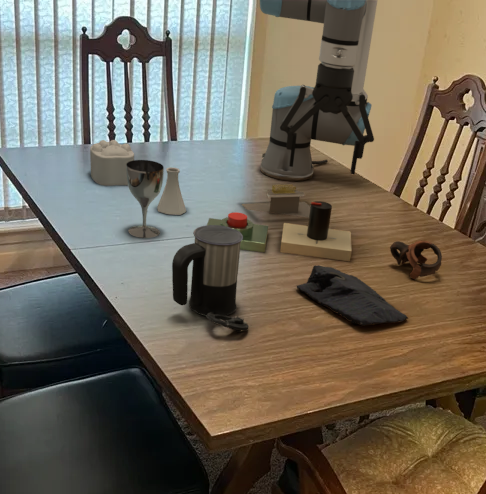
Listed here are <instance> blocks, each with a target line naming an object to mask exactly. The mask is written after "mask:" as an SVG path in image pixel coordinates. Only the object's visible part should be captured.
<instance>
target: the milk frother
mask: <svg viewBox="0 0 486 494" xmlns="http://www.w3.org/2000/svg"><path fill="white" fill-rule="evenodd" d="M192 233H193V237H194V242H193V243H189V244H186V245H183V246H181V247H180V248H179V249H178V250H177V251H176V253H175V254H174V256H173V258H172V263H171V271H172V272H171V274H172V276H171V277H172V279H171V280H172V299H173V301H174V302H175V304H177V305H179V306H185V305H187V304H188V306H189V308H190V310H192V311H193V312H195V313H197V314H200V315H202V316H206V319H207V320H209V321H210V322H212V323H214V324H216V325H220V326H222V327H225V328H228V329H230V330H232V331H234V332H237V333H241V332H242V331H243V332H246V331H248V330H249V328H250V327H249V326H250V325H249V324H248V321H246V320H244V319H243V318H242V317H239V316H236V317H233V316H229V315H232V314H234V313H235V312H236V310H237V306H238V305H237V302H236V301H237V286H238V275H239V265H240V254H241V249H240V244H241V241H242V239H243V236H242V234H241V233H240V232H239V231H237V230H235V229H232V228H229V227H226V226H219V225H207V224H206V225H201V226H198V227H196V228H195V229H194V230H193V232H192ZM191 263H192V267H191V268H192V270H191V286H190V297H189V300H188V295H189V294H188V291H189V290H188V288H189V287H188V286H189V285H188V282H189V272H188V271H189V266H190V264H191Z"/></svg>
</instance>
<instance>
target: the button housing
mask: <svg viewBox="0 0 486 494" xmlns="http://www.w3.org/2000/svg"><path fill="white" fill-rule="evenodd" d="M207 225H219V226H226V227H229V228H232V229H235V230H237V231H239V232H240V233H241V234H242V236H243V239H242V241H241V244H240V251H241V250H242V251H250V252H256V253H257V252H258V253H265V251H266V245H267V239H268V235H269V225H266V224H258V223H254V222H253V221H251V220H250V219H247V226H245V227H233V226H230V225H228V216H227V217H224V218H222V219H220V218H211V217H209V218H208V221H207V224H206V226H207Z"/></svg>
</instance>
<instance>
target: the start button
mask: <svg viewBox="0 0 486 494" xmlns="http://www.w3.org/2000/svg"><path fill="white" fill-rule="evenodd" d="M227 214H228V215H227V217H228V225H230V226H233V227H245V226H247V220H248V215H246V214H245V213H243V212H236V211H235V212H230V213H227Z"/></svg>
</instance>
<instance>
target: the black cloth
mask: <svg viewBox="0 0 486 494" xmlns="http://www.w3.org/2000/svg"><path fill="white" fill-rule="evenodd" d="M296 289H297V290H299V291H300V292H301V293H304V294H306V295H307V296H308V297H309V298H310V299H312V300H313V301H314V302H317V303H318V304H320V306H323V307H327V308H328V309H330V310H331V312H333V313H335V314H336V315H339V316H341V317H342V318H344V319H346V320H347V321H349V322H350V323H351V324H357V325H360V326H369V325H379V324H380V325H381V324H393V323H402V322H403V321H405V320H408V319H409V317H408V315H406V314H405V313H403V312H402V311H400V310H399V309H396V308H395V307H394V306H393V305H391V303H389V302H388V301H387V300H386V299H385V298H384V297H383V296H381V295H380V294H379V293H378V292H377V291H376V290H375V289H373V288H372V287H370V286H369V285H368V284H366V283H365V282H364V281H363V280H361V279H360V278H358V276H355V275H352V274H348V273H345V272H342V271H341V270H339V269H337V268H334V267H332V266H323V265H319V264H318V265H317V264H316V265H313V267H312V269H311V273H310V275H309V277H308V278H307V281H306V282H305V283H301V284H298V285H296Z"/></svg>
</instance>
